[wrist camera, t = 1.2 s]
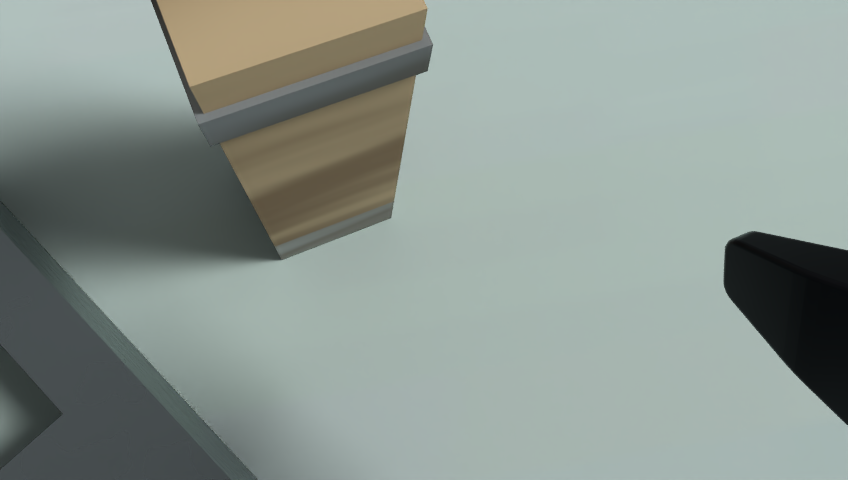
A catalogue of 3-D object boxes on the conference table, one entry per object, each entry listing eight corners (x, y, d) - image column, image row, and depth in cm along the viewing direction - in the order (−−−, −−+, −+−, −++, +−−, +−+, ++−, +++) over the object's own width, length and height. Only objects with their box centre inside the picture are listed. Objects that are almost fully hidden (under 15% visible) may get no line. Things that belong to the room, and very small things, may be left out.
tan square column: (396, 220, 24) (439, 13, 11) (279, 265, 23) (183, 98, 10) (350, 113, 25) (343, -194, 12) (235, 153, 24) (97, -129, 11)
